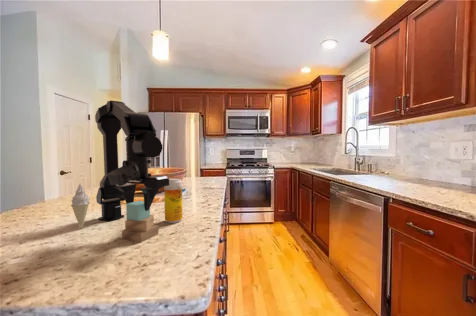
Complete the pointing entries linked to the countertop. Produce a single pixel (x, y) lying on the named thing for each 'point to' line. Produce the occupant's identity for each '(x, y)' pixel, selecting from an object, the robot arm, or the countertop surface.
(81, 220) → the ice cream cone
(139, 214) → the teal cube
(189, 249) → the countertop surface
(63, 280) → the countertop surface
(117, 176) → the robot arm
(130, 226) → the slab upper
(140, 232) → the slab lower
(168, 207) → the beer can
